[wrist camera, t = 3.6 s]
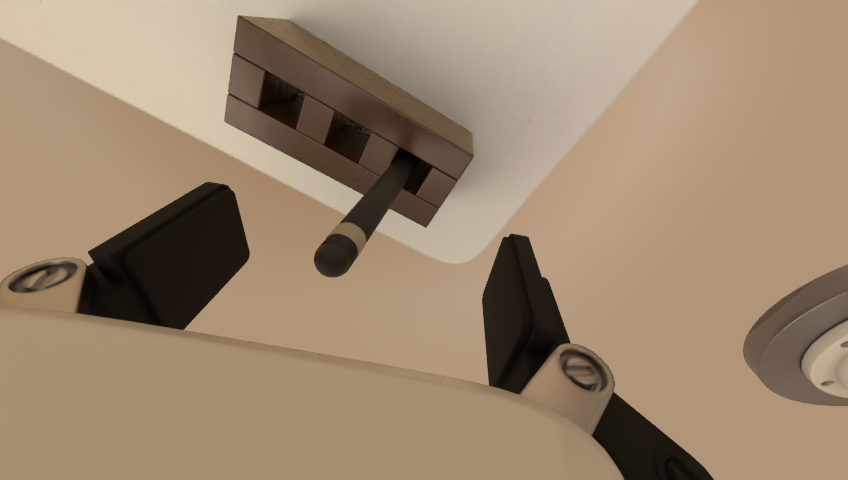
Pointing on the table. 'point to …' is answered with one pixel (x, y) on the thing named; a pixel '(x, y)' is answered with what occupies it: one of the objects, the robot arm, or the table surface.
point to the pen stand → (340, 115)
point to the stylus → (363, 219)
